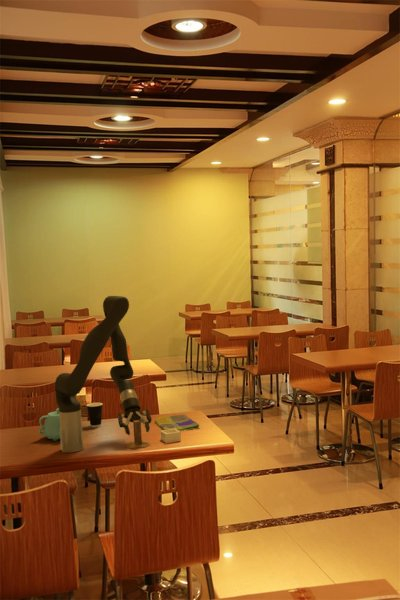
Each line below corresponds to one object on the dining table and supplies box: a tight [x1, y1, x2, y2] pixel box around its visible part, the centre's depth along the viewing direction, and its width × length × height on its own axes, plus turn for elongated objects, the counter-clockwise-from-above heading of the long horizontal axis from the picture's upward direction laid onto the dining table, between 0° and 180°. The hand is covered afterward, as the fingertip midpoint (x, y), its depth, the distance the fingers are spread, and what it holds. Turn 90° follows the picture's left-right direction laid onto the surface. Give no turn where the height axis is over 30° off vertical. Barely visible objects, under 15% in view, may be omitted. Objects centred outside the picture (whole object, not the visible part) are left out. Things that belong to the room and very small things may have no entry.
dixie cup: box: [86, 402, 103, 428], centre depth 311 cm, size 8×8×11 cm
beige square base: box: [160, 429, 182, 444], centre depth 278 cm, size 7×7×4 cm
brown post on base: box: [126, 420, 150, 450], centre depth 272 cm, size 10×10×11 cm
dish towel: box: [154, 413, 200, 432], centre depth 305 cm, size 18×24×3 cm
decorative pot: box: [38, 407, 60, 442], centre depth 293 cm, size 16×16×14 cm
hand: (138, 432), depth 271 cm, fingers open, 8 cm apart
